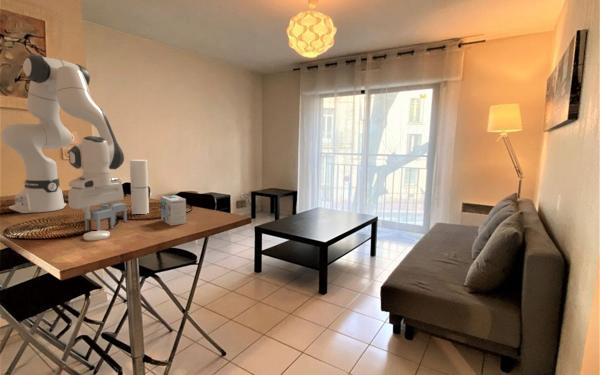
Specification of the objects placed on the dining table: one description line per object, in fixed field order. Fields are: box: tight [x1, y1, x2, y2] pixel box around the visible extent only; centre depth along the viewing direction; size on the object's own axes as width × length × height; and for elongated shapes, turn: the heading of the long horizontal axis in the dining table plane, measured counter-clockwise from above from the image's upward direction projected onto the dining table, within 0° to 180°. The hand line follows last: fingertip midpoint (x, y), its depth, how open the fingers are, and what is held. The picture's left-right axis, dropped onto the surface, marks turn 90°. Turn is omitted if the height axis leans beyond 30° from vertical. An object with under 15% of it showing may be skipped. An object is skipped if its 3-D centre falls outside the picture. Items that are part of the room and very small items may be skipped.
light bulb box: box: [160, 194, 187, 226], centre depth 134 cm, size 11×7×11 cm, turn 45°
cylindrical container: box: [129, 159, 150, 215], centre depth 145 cm, size 7×7×25 cm
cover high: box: [100, 201, 128, 225], centre depth 130 cm, size 6×6×8 cm
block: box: [90, 219, 109, 231], centre depth 120 cm, size 4×4×4 cm
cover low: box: [84, 207, 115, 231], centre depth 120 cm, size 6×6×8 cm
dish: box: [82, 230, 111, 242], centre depth 112 cm, size 8×8×1 cm
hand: (99, 215), depth 120 cm, fingers closed on cover low, 6 cm apart
